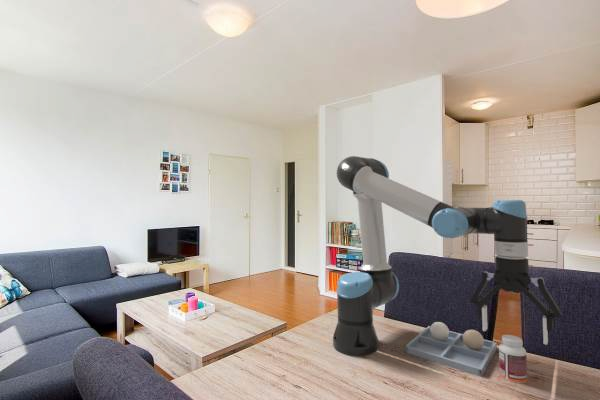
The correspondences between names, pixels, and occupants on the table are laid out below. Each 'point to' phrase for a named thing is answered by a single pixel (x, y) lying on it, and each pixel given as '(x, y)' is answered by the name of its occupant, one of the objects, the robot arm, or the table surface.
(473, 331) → the egg brown
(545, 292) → the robot arm
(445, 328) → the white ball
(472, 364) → the divided tray
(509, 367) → the pill bottle
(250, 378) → the table surface
